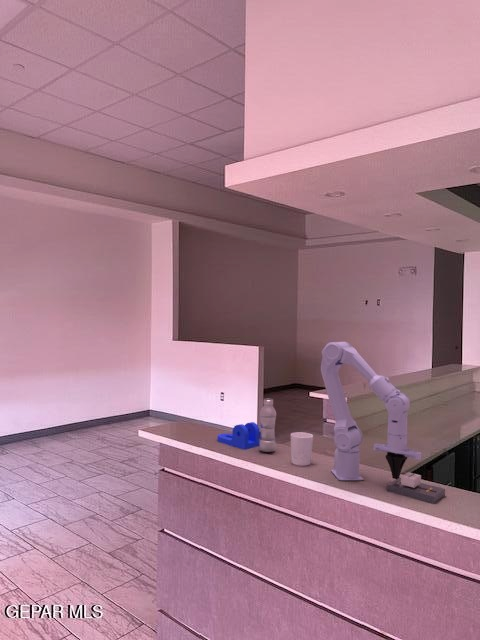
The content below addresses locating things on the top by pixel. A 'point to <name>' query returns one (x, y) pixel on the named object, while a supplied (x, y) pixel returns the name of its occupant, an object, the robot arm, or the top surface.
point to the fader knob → (411, 479)
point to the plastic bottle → (267, 427)
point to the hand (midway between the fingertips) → (395, 478)
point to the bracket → (242, 436)
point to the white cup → (301, 448)
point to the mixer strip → (417, 491)
